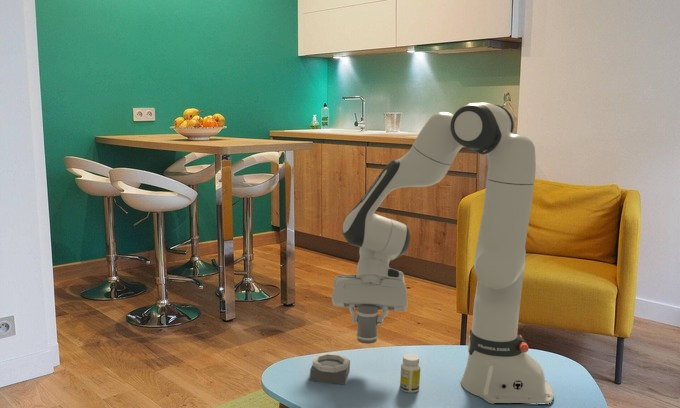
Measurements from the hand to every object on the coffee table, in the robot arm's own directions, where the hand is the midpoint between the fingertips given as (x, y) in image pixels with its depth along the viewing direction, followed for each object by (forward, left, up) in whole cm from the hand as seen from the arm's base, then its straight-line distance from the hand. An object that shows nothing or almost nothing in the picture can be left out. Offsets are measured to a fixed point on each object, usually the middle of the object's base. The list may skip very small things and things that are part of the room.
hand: (367, 322), depth 164 cm
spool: (0, -1, -5) cm, 5 cm away
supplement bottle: (-12, +8, -13) cm, 20 cm away
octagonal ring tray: (+8, +6, -13) cm, 16 cm away
